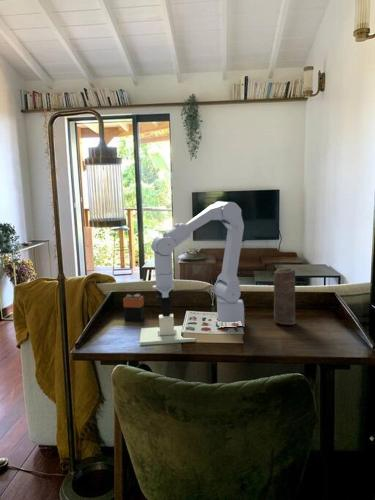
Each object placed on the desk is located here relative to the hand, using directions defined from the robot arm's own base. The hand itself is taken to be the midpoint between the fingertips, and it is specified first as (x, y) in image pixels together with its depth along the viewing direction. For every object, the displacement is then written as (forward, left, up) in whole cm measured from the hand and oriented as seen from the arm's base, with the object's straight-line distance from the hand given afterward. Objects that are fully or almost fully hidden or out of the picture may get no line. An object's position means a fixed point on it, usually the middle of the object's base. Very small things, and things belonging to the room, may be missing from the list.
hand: (166, 312), depth 130 cm
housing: (0, 0, -7) cm, 7 cm away
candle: (-42, -4, -9) cm, 43 cm away
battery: (+12, -18, -9) cm, 23 cm away
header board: (0, 0, -8) cm, 8 cm away
